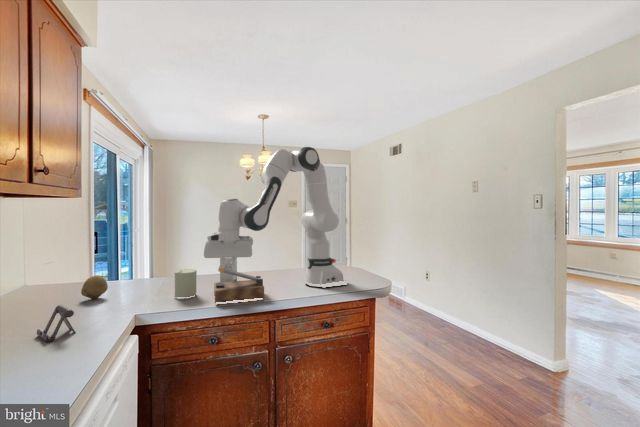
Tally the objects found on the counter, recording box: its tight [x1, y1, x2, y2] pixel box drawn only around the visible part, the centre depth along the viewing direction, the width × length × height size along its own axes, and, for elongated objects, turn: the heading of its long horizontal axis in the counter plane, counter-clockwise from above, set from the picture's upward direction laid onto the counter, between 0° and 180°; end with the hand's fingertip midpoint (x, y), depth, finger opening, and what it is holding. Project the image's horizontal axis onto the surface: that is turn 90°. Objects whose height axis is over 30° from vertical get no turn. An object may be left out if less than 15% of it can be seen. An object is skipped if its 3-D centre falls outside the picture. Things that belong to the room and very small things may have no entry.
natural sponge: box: [80, 275, 109, 300], centre depth 134 cm, size 9×9×10 cm
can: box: [174, 268, 198, 297], centre depth 139 cm, size 9×9×12 cm
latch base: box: [213, 275, 265, 304], centre depth 137 cm, size 20×14×8 cm
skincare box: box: [219, 257, 238, 282], centre depth 154 cm, size 8×7×16 cm
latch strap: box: [218, 265, 262, 281], centre depth 137 cm, size 19×4×2 cm, turn 111°
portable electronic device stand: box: [36, 304, 76, 344], centre depth 97 cm, size 9×8×8 cm
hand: (228, 267), depth 135 cm, fingers closed
